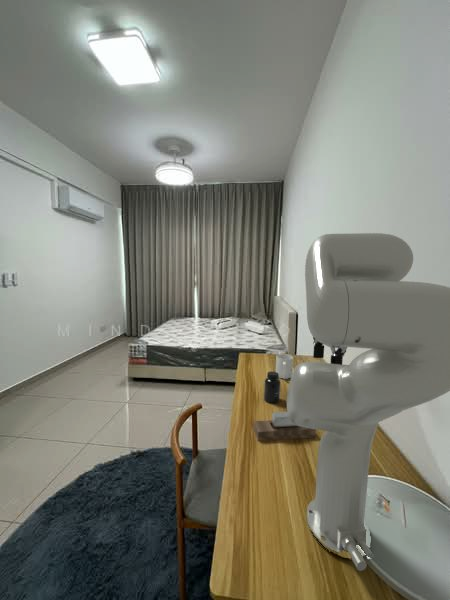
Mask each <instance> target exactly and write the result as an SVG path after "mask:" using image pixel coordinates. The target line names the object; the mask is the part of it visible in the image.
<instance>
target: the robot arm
mask: <svg viewBox="0 0 450 600" xmlns="http://www.w3.org/2000/svg"><path fill="white" fill-rule="evenodd" d="M413 262H414V253H413V250H412V249H411V246H410V245H409V244H408V243H407V242H406V241H405V240H404V239H403V238H400V237H399V236H397V235H393V234H388V233H381V232H380V233H379V232H376V233H375V232H373V233H372V232H371V233H370V232H369V233H368V232H367V233H366V232H364V233H362V232H361V233H359V232H358V233H357V232H356V233H354V232H353V233H325V234H323V235H320V236H319V237H317V238H316V239H315V240H314V241H313V242H312V244H311V245H310V246H309V249H308V251H307V255H306V259H305V265H304V267H305V268H304V276H305V280H304V281H305V297H306V321H307V326H308V330H309V332H310V334H311V335H312V339H313V343H312V345H313V355H312V357H313V358H314V359H324V357H325V356H324V355H325V347H329V348H330V351H331V354H332V355H330V363H329V362H328V363H327V362H318V361H317V362H316V361H305V362H300V363H299V364H298V363H297V365H296V366H295V367H294V369H293V371H292V376H291V378H290V379H289V380H290V381H289V386H288V389H287V394H286V410H287V411H286V412H288V415H289V417H290V419H291V421H292V422H293V423H294V424H295V425H297V426H300V427H306V428H312V429H316V430H319V431H324V433H323V435H322V436H321V438H320V441H319V444H318V450H317V465H316V481H315V493H314V494H315V497H314V499H312V500H311V501H310V502H309V503H308V506H307V509H306V522H308V523H307V525H309V526H308V528H309V527H310V529H311V530H312V532H313V533H314V535H315V536H316V537H317V538H318V539H319V540H320V541H321V542H322V543H323V544H324V545H325V546H327V547H328V548H330V549H331V550H334V551H336V552H340V553H341V552H342V551H343V550H344V549H345V550H344V551H346V552H349V554H350V556H351V558H352V559H351V560H352V562H353V563H354V565H355V568H356V569H357V570H358V571H359V572H360V571H361V572H363V571H365V570H366V569H367V562H366V560H365V557H362V555H361V553H360V552H359V551H358V549H357V548H356V545H359V546H360V547H361V549H362V550H363V551H364V553H365V554H366V556H368V557H370V558H372V559H374V553H373V552H372V550H371V548H370V549H369V547H368V546H367V545H366V531H367V530H366V529H365V527H364V520H365V514H366V506H367V505H366V504H367V492H368V479H369V469H370V458H371V451H372V446H373V441H374V438H375V435H376V433H377V432H376V431H377V430H378V429H377V428H378V425H379V423H380V422H382V421H384V420H387V419H389V418H391V417H394V416H396V415H398V414H400V413H402V412H403V411H405V410H408V409H412V408H414V407H416V406H419V405H420V406H421V405H423V404H425V403H429V402H431V401H433V400H435V399H437V398H439V397H441V396H443V395H445V394H447V393H449V392H450V286H446V285H441V284H436V283H431V282H421V281H405V280H404V281H403V279H404V278H405V277H406V276H408V274H409V272H410V271H411V269H412V267H413ZM348 348H355V349H357V348H358V349H368V350H366V351H364V352H362V353H360V354H359V355H357V356H356V357H354V358H353V360H352V361H350V363H349V364H343V360H344V359H343V357H344V356H345V354H346V353H347V349H348ZM310 529H309V530H310ZM321 537H324V538H325V540H322V539H321ZM342 553H343V552H342Z"/></svg>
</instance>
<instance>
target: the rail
mask: <svg viewBox="0 0 450 600" xmlns="http://www.w3.org/2000/svg"><path fill="white" fill-rule="evenodd" d="M253 432H254V434H255V437H256V439H257V441H272V440H273V441H274V440H291V439H292V440H293V439H309V438H311V439H312V438H316V435H317V429H312V428H306V427H300V426H297V427H296V428H290V427H289V426H287V427H280V428H276V429H273V428H272V419H270V420H253Z"/></svg>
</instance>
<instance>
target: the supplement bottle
mask: <svg viewBox="0 0 450 600" xmlns="http://www.w3.org/2000/svg"><path fill="white" fill-rule="evenodd" d="M266 373H267V375H266V378H264V390H263V400H264V401H265V402H267V403H269V404H277V403H279V402H280V398H281V380H280V378H279V374H278V373H277V372H276V371H268V372H266Z"/></svg>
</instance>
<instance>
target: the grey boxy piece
mask: <svg viewBox="0 0 450 600" xmlns="http://www.w3.org/2000/svg"><path fill="white" fill-rule="evenodd" d="M271 420H272V428H273V429H276V428H280V427H287V426H289V427H290V428H296V427H297V425H295V424H294V423H293V422H292V421H291V419H290V417H289V415H288V411H274V412H272V413H271Z"/></svg>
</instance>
